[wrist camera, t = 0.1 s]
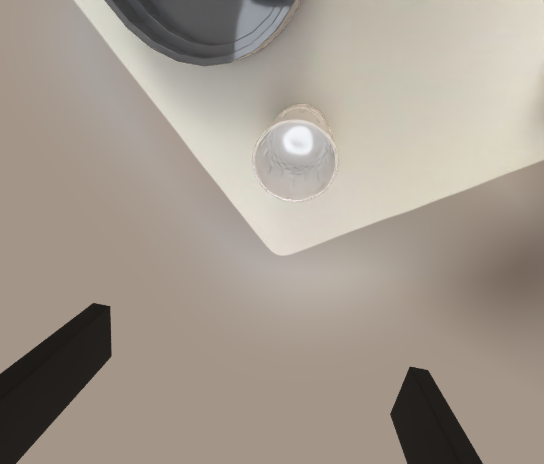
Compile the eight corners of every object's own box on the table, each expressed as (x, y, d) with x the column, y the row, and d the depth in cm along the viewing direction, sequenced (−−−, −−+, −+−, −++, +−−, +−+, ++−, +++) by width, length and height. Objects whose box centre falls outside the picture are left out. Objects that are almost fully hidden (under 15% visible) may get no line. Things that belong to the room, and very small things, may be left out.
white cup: (266, 160, 36) (251, 196, 28) (270, 94, 31) (253, 115, 23) (326, 167, 35) (328, 206, 27) (339, 101, 30) (347, 125, 22)
